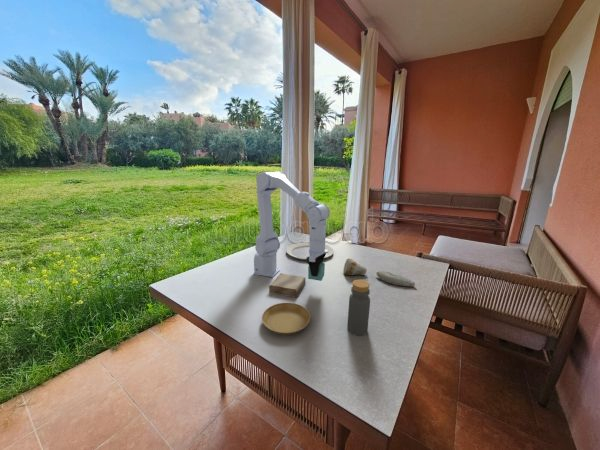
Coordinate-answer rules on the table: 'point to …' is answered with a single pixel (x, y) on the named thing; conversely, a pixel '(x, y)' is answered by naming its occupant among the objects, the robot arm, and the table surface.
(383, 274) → the decorative stone
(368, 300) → the bottle
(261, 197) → the robot arm
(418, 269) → the table surface
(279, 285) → the walnut plinth
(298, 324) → the plant saucer
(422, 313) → the table surface
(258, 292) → the table surface
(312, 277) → the teal cube
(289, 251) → the plate
